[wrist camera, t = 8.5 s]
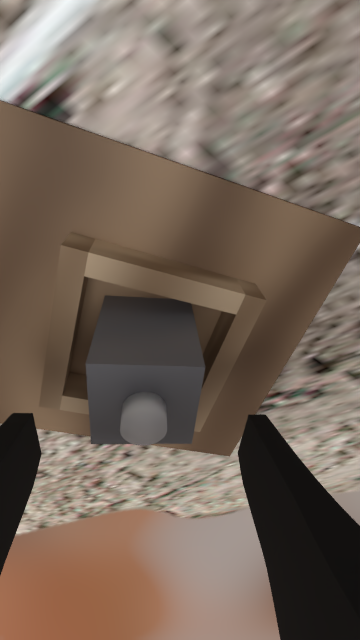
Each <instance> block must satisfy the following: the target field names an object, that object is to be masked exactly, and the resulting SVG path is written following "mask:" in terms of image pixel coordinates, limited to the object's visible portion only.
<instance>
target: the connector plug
mask: <svg viewBox="0 0 360 640" xmlns="http://www.w3.org/2000/svg"><path fill="white" fill-rule="evenodd" d="M204 372H205V363H204V359H203V354H202V350H201V345H200V341H199V336H198V332H197V327H196V323H195V318H194V314H193V309H192V305H191V303H188V302H184V301H180V300H176V299H166V298H146V297H127V296H108V295H105V297H104V300H103V304H102V307H101V311H100V314H99V318H98V322H97V325H96V329H95V332H94V336H93V339H92V343H91V346H90V350H89V353H88V357H87V360H86V377H87V392H88V406H89V420H90V434H91V444H135V445H151V444H192V440H193V435H194V429H195V423H196V418H197V412H198V406H199V400H200V395H201V389H202V383H203V378H204Z"/></svg>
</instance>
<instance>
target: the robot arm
mask: <svg viewBox="0 0 360 640" xmlns="http://www.w3.org/2000/svg"><path fill="white" fill-rule="evenodd" d="M40 457H41V449H40V444H39V440H38V435H37V430H36V426H35V421H34V416H33V413H12V414H11V415H10V416H9V417H8V418H7V419H6V421H5V422H4V423H3V424H2V425H1V426H0V575H1V572H2V569H3V566H4V563H5V560H6V558H7V555H8V552H9V549H10V547H11V544H12V542H13V539H14V536H15V534H16V531H17V528H18V526H19V523H20V520H21V518H22V515H23V513H24V510H25V507H26V504H27V502H28V499H29V496H30V494H31V491H32V488H33V485H34V481H35V478H36V474H37V470H38V466H39V462H40ZM238 457H239V463H240V469H241V475H242V480H243V485H244V488H245V492H246V496H247V499H248V503H249V506H250V510H251V513H252V517H253V520H254V524H255V527H256V531H257V534H258V538H259V541H260V544H261V548H262V552H263V555H264V559H265V563H266V567H267V572H268V577H269V582H270V586H271V592H272V596H273V602H274V607H275V612H276V617H277V623H278V628H279V634H280V639H281V640H360V526H359V525H358V524H357V523H356V522H355V521H354V520H353V519H352V518H351V517H350V516H349V514H348V513H347V512H346V511H345V510H344V509H343V508H342V507H341V506H340V505H339V504H338V503H337V502H336V501H335V500H334V498H333V497H332V496H331V495H330V494H329V493H328V492H327V491H326V490H325V488H324V487H323V486H322V485H321V484H320V483H319V482H318V480H317V479H316V478H315V477H314V476H313V474H312V473H311V472H310V471H309V470H308V468H307V467H306V466H305V465H304V464H303V462H302V461H301V460H300V459H299V457H298V456H297V455H296V454H295V452H294V451H293V450H292V449H291V447H290V446H289V445H288V443H287V442H286V441H285V440H284V438H283V437H282V436H281V434H280V433H279V432H278V430H277V429H276V428H275V426H274V425H273V424H272V422H271V421H270V420H269V418H268V417H267V416H266V415H248V418H247V422H246V425H245V429H244V432H243V436H242V439H241V443H240V446H239V450H238Z"/></svg>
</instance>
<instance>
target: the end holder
mask: <svg viewBox="0 0 360 640" xmlns="http://www.w3.org/2000/svg"><path fill="white" fill-rule="evenodd" d="M359 243H360V227H359V226H356V225H353V224H350V223H347V222H344V221H342V220H339V219H336V218H333V217H330V216H327V215H325V214H322V213H319V212H316V211H313V210H310V209H308V208H305V207H302V206H299V205H296V204H293V203H291V202H288V201H285V200H282V199H279V198H276V197H273V196H271V195H268V194H265V193H262V192H259V191H256V190H254V189H251V188H248V187H245V186H242V185H239V184H237V183H234V182H231V181H228V180H225V179H222V178H220V177H217V176H214V175H211V174H208V173H205V172H203V171H200V170H197V169H194V168H191V167H188V166H185V165H183V164H180V163H177V162H174V161H171V160H168V159H166V158H163V157H160V156H157V155H154V154H151V153H149V152H146V151H143V150H140V149H137V148H134V147H132V146H129V145H126V144H123V143H120V142H117V141H114V140H112V139H109V138H106V137H103V136H100V135H97V134H95V133H92V132H89V131H86V130H83V129H80V128H78V127H75V126H72V125H69V124H66V123H63V122H61V121H58V120H55V119H52V118H49V117H46V116H43V115H41V114H38V113H35V112H32V111H29V110H26V109H24V108H21V107H18V106H15V105H12V104H9V103H7V102H4V101H1V100H0V423H2V424H3V423H4V422H5V421H6V419H7V418H8V417H9V416H10V415H11V414H12V413H33V416H34V421H35V426H36V428H37V429H44V430H51V431H57V432H64V433H71V434H78V435H85V436H91V434H90V420H89V406H88V392H87V377H86V360H87V357H88V353H89V350H90V346H91V343H92V339H93V336H94V332H95V329H96V325H97V322H98V318H99V314H100V311H101V307H102V304H103V300H104V297H105V295H108V296H127V297H146V298H166V299H176V300H180V301H184V302H188V303H191V305H192V309H193V314H194V318H195V323H196V327H197V332H198V336H199V341H200V345H201V350H202V354H203V359H204V363H205V372H204V378H203V383H202V389H201V395H200V400H199V406H198V412H197V418H196V423H195V429H194V435H193V440H192V444H151V445H155V446H162V447H169V448H176V449H183V450H190V451H197V452H204V453H211V454H217V455H224V456H230V455H231V453H232V452H233V450H234V448H235V447H236V445H237V443H238V442H239V440H240V438H241V437H242V435H243V432H244V429H245V425H246V422H247V418H248V415H255V414H256V412H257V411H258V409H259V407H260V406H261V404H262V402H263V401H264V399H265V397H266V396H267V394H268V393H269V391H270V389H271V388H272V386H273V384H274V383H275V381H276V379H277V378H278V376H279V374H280V373H281V371H282V370H283V368H284V366H285V365H286V363H287V361H288V360H289V358H290V356H291V355H292V353H293V351H294V350H295V348H296V347H297V345H298V343H299V342H300V340H301V338H302V337H303V335H304V333H305V332H306V330H307V329H308V327H309V325H310V324H311V322H312V320H313V319H314V317H315V315H316V314H317V312H318V310H319V309H320V307H321V306H322V304H323V302H324V301H325V299H326V297H327V296H328V294H329V292H330V291H331V289H332V287H333V286H334V284H335V283H336V281H337V279H338V278H339V276H340V274H341V273H342V271H343V269H344V268H345V266H346V264H347V263H348V261H349V260H350V258H351V256H352V255H353V253H354V251H355V250H356V248H357V246H358V245H359Z"/></svg>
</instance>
